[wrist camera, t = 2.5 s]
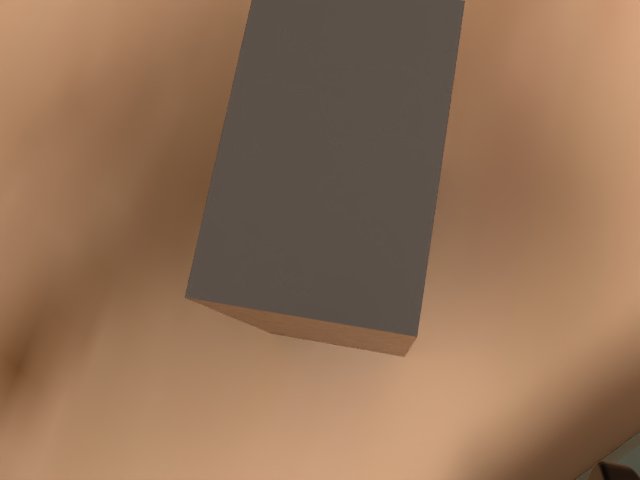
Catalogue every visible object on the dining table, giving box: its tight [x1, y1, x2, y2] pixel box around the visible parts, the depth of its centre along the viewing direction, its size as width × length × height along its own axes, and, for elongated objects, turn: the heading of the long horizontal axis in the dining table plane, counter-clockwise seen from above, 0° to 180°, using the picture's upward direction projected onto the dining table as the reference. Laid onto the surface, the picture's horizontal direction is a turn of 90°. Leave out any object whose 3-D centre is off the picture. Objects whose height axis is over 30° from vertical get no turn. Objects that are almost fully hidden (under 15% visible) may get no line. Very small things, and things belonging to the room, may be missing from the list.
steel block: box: [185, 0, 465, 357], centre depth 17 cm, size 4×7×9 cm, turn 170°
